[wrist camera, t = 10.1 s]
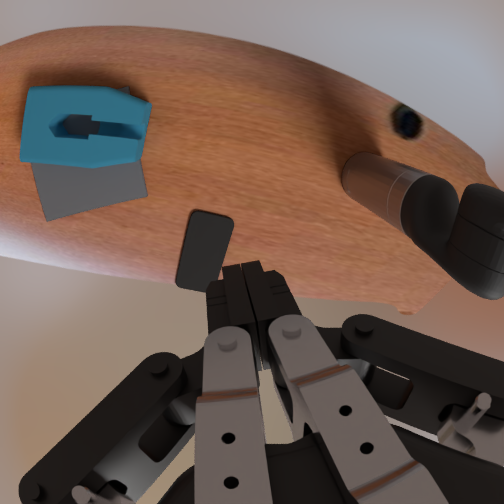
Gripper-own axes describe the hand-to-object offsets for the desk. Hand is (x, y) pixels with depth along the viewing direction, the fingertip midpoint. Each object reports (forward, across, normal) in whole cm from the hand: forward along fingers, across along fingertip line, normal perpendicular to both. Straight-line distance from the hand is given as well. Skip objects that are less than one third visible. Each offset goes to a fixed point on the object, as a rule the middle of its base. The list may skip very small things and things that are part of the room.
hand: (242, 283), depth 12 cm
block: (+32, +9, -6) cm, 34 cm away
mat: (+35, +21, -5) cm, 41 cm away
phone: (+36, +4, +16) cm, 39 cm away
